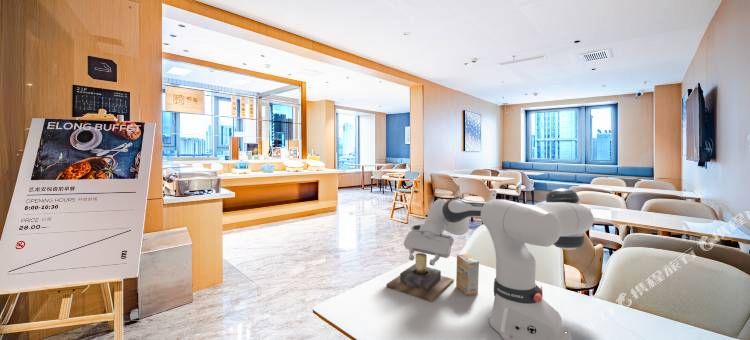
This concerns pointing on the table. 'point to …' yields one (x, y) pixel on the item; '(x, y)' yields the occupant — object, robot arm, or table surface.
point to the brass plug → (421, 264)
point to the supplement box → (467, 274)
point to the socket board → (421, 292)
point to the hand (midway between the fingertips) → (420, 262)
